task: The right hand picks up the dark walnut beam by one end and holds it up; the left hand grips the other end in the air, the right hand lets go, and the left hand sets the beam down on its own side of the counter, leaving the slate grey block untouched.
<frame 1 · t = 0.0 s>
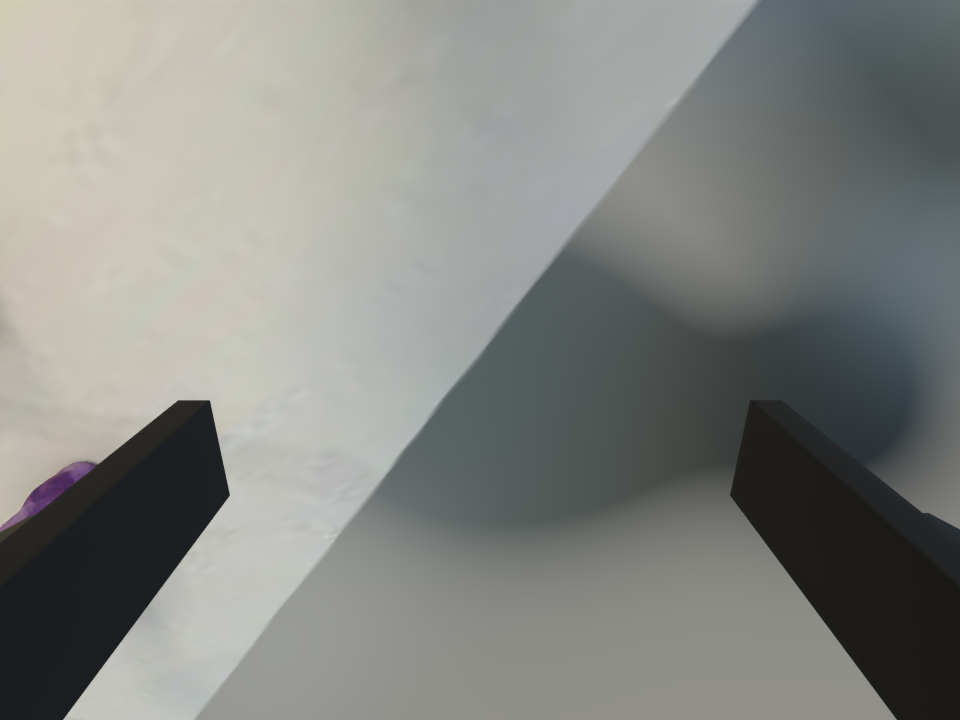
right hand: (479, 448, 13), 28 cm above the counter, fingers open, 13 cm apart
figurine: (94, 504, 47), on the counter
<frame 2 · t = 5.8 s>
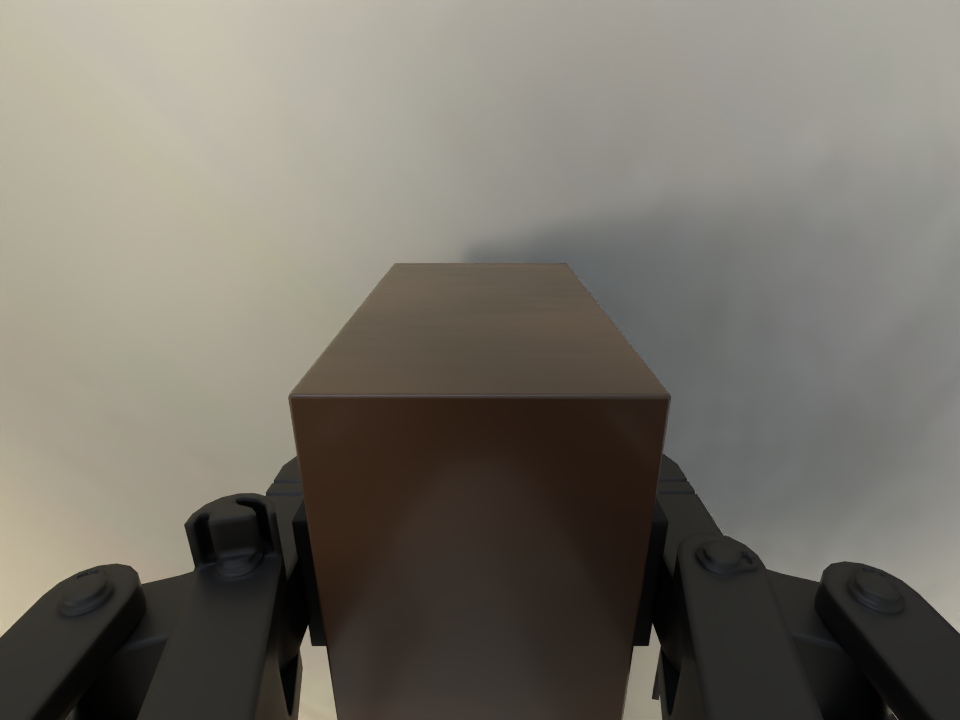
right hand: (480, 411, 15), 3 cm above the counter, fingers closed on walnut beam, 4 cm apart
walnut beam: (480, 630, 18), point 2 cm above the counter, touching right hand
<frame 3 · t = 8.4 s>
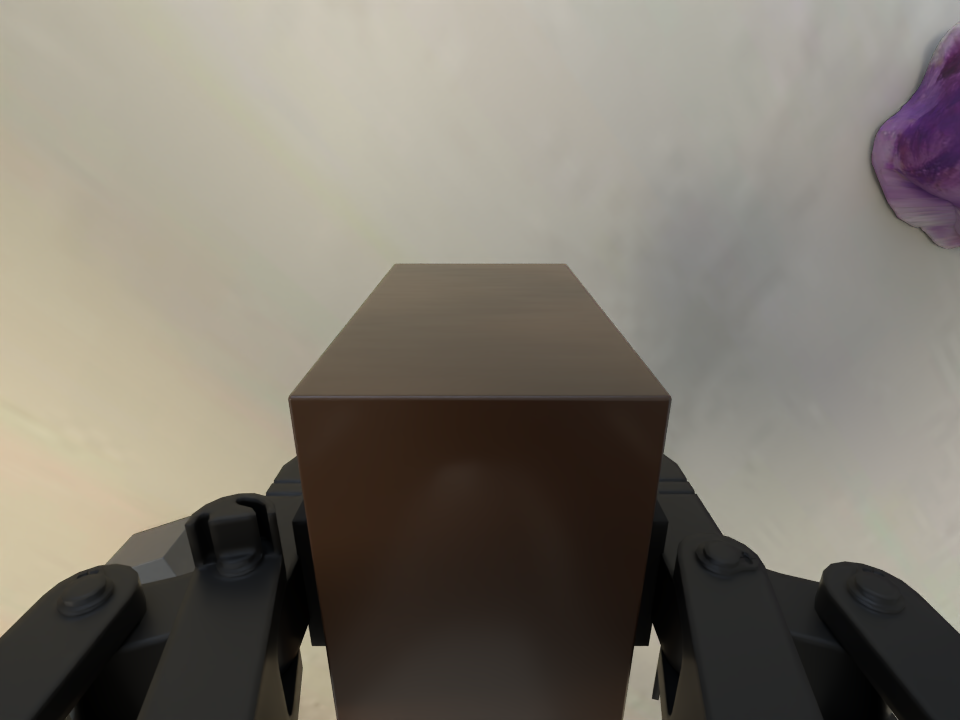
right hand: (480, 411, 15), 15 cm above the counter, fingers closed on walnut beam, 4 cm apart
walnut beam: (480, 630, 18), point 14 cm above the counter, touching right hand
slate block: (185, 552, 35), on the counter
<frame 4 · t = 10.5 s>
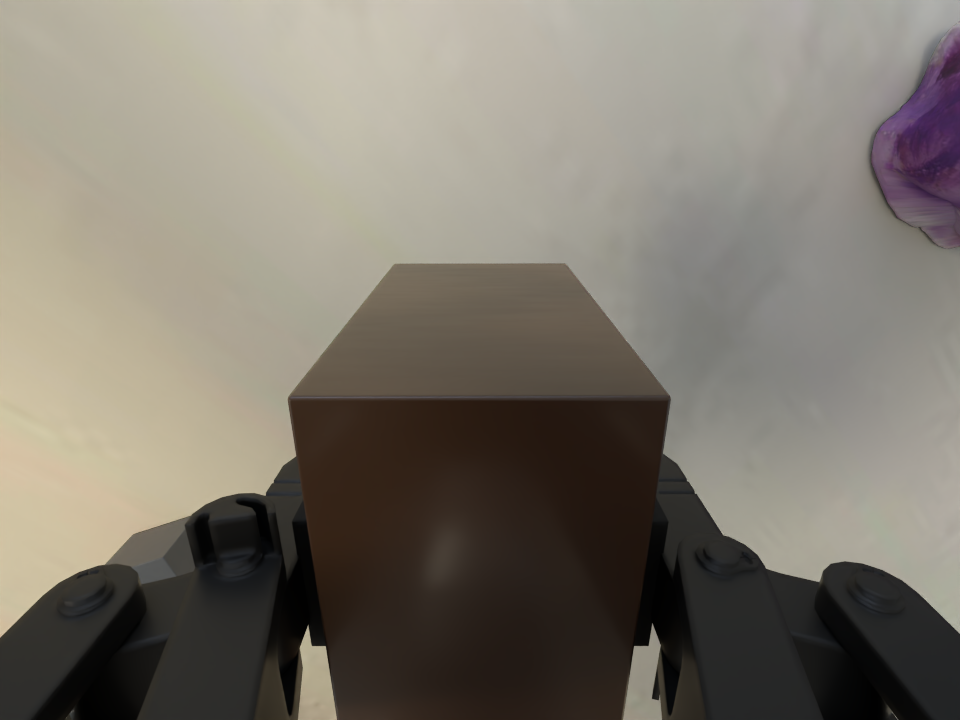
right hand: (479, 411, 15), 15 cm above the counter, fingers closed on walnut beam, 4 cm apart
walnut beam: (480, 630, 18), point 14 cm above the counter, touching right hand, left hand
slate block: (185, 552, 35), on the counter
when the right hand's fingers open (15 cm above the counter, at t = 11.1 s): walnut beam stays where it is, held by the left hand.
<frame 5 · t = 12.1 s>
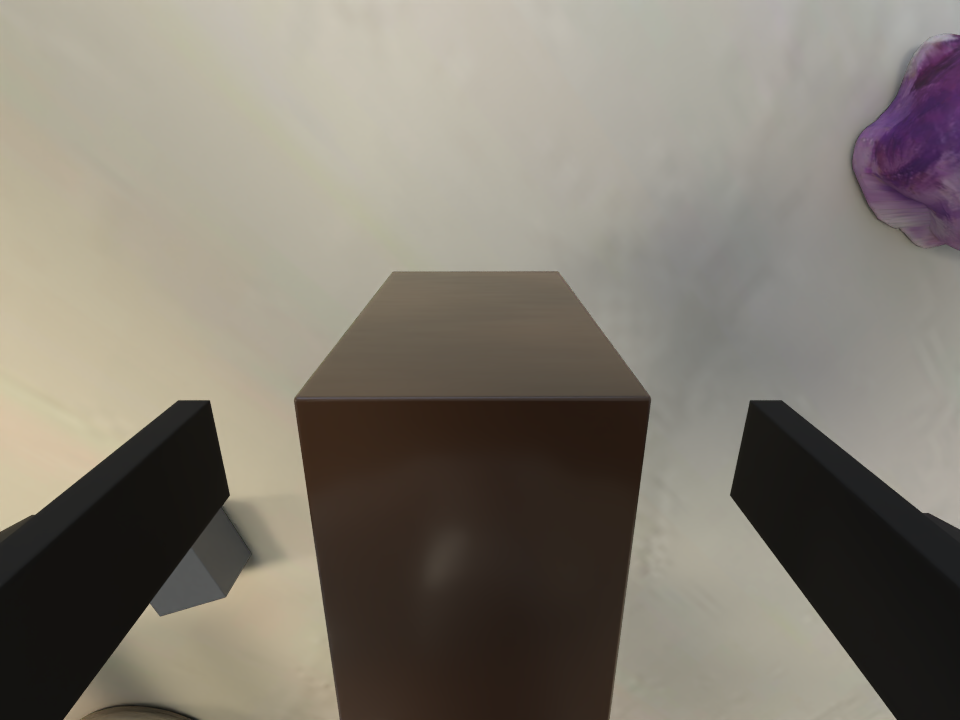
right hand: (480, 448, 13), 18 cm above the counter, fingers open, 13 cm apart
figurine: (937, 159, 27), on the counter
walnut beam: (477, 630, 19), point 16 cm above the counter, touching left hand
slate block: (203, 536, 37), on the counter
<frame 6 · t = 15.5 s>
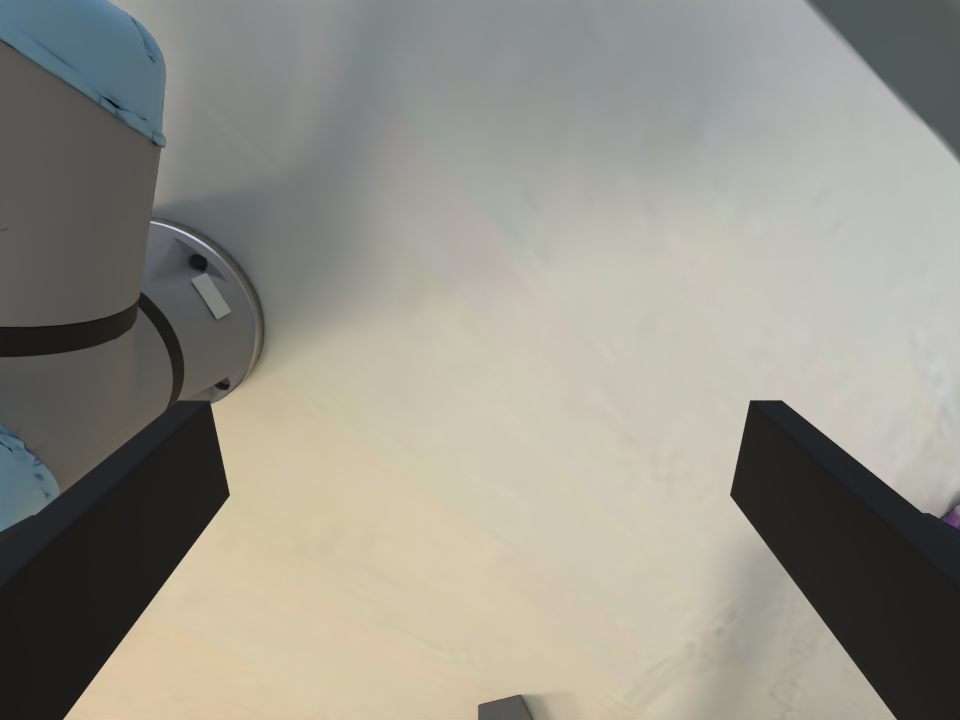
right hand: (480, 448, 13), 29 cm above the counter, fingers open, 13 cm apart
slate block: (506, 714, 58), on the counter
when the left hand's fingers open (2 cm above the counter, at t = 20.5 s): walnut beam drops 1 cm, on the counter.
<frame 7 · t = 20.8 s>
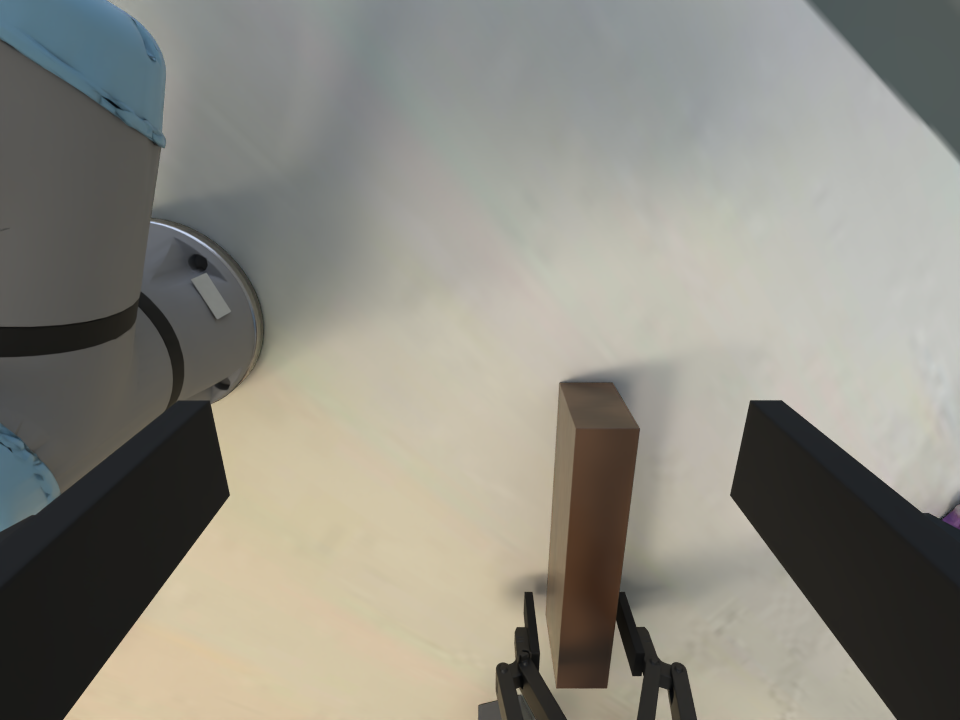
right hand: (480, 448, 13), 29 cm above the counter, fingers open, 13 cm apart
walnut beam: (575, 509, 48), on the counter
slate block: (506, 714, 58), on the counter
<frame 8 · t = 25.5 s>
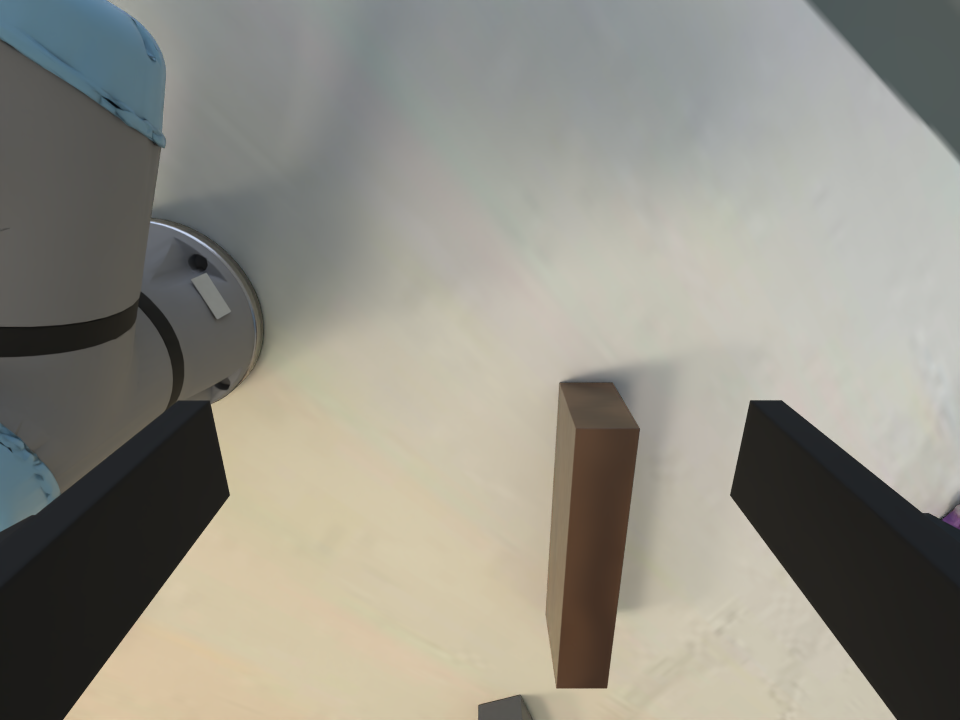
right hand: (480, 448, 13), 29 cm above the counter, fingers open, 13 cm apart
walnut beam: (575, 509, 48), on the counter
slate block: (506, 714, 58), on the counter
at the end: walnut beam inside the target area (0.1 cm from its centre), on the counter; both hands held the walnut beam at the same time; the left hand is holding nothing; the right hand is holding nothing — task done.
